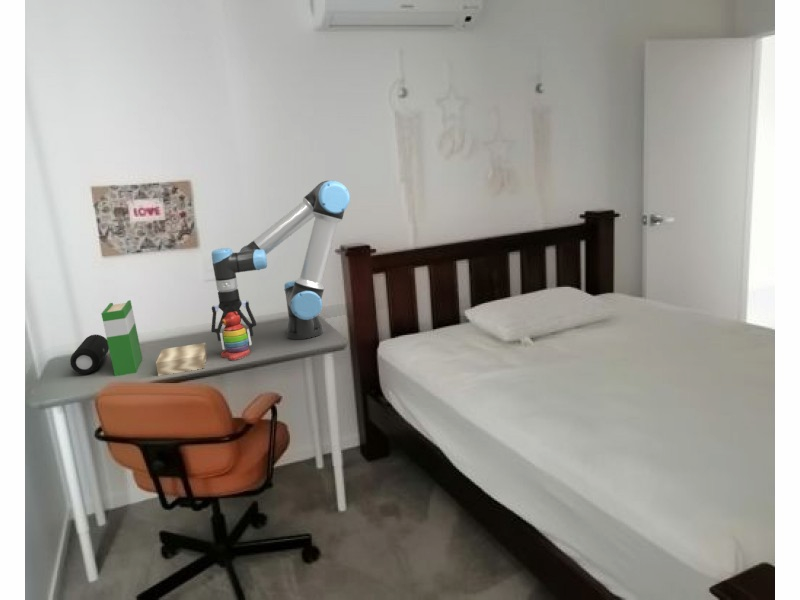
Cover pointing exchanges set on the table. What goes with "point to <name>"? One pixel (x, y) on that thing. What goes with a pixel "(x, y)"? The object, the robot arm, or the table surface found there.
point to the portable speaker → (89, 354)
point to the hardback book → (122, 338)
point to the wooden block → (181, 359)
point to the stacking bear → (234, 337)
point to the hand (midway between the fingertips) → (237, 346)
